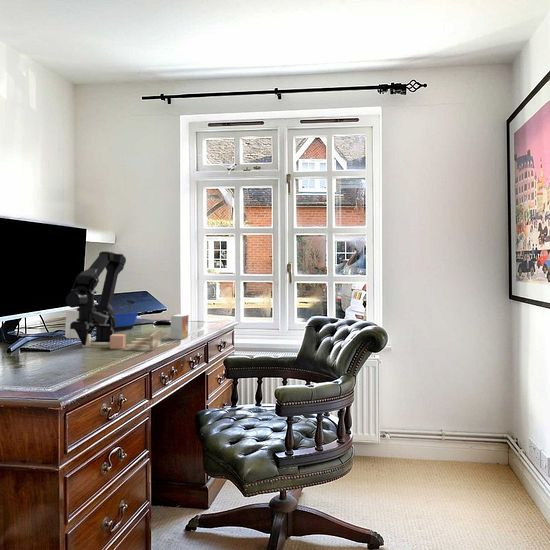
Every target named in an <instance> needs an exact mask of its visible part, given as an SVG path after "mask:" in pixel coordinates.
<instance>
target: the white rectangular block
mask: <svg viewBox="0 0 550 550" xmlns="http://www.w3.org/2000/svg"><path fill="white" fill-rule="evenodd" d="M78 318H79V311H77V309H66V310H65V332H64V334H65V335H64V336H65V337H66V338H65V339H71V338H78V339H80V338H79V336H78V334H77V332H76V331H75V330H74V329H70V324H71V323H72V322H74V321H77V319H78Z"/></svg>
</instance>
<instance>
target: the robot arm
mask: <svg viewBox="0 0 550 550" xmlns="http://www.w3.org/2000/svg"><path fill="white" fill-rule="evenodd" d="M126 262H127V259H126V256H125V255H124V254H123V253H115V252H113V251H100V252H99V253H98V257H96V259H95V260H94V261H93V262H92V264H91V265H90V267H88V269H85V270H83V271H81V272H80V273H78V275H77V277H76V279H75V281H74V282H73V286H72V288H71V289H70V292H69V293H68V294H67V295H66V296H65V303H66V304H65V305H67V306H68V307H69V308H72V309H73V308H76V310H77V311H79V318H78V319H77V321H74V322H72V323H71V324H70V329H74V330H75V331H76V332H77V334H78V336H79V338H78V339H79V340H80V343H81V346H82V345H86V341H87V335H88V334H91V335H92V333H93V331H94V329H95V340H94V342H110V336H111V335H112V334H115V331H114V330H113V327H116V325H117V321H116V319H115V317H114V314H115V313H114V309H113V306H112V304H113V303H112V302H113V300H114V295H115V291H116V290H115V289H116V285H117V282H118V281H117V280H118V276H119V274H120V273H121V272H123V270H124V267H125V264H126ZM104 270H106V274H105V278H104V282H103V286H102V290H101V295H100V299H99V302H98V304H95V294H97V291H96V290H95V288H96V287H97V286H98V284H99V281H100V280H99V277H100V275H101V274H102V273H103V271H104Z"/></svg>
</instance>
